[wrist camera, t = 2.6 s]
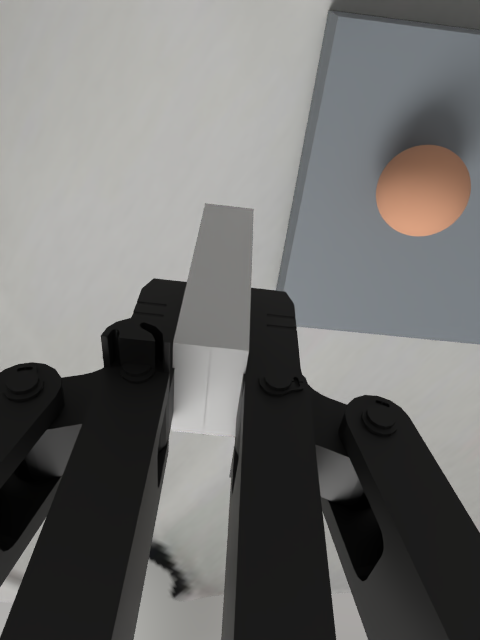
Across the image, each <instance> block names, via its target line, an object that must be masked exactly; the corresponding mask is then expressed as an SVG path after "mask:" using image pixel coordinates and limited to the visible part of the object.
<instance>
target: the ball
mask: <svg viewBox="0 0 480 640" xmlns="http://www.w3.org/2000/svg"><path fill="white" fill-rule="evenodd" d="M470 193H471V179H470V175H469V172H468V169H467V167H466V165H465V164H464V162H463V161H462V160H461V158H460V157H459V156H458V155H456V154H455V153H454V152H452V151H451V150H449V149H447V148H444V147H441V146H437V145H419V146H415V147H412V148H409V149H407V150H404V151H403V152H401V153H399V154H398V155H397V156H395V157H394V158H393V159H392V160H391V161H390V162H389V163H388V164H387V165H386V167H385V168H384V170H383V171H382V173H381V175H380V177H379V180H378V183H377V187H376V202H377V207H378V210H379V212H380V214H381V216H382V218H383V219H384V220H385V222H386V223H387V224H388V225H389V226H390V227H392V228H393V229H394V230H396V231H398V232H400V233H402V234H405V235H409V236H428V235H432V234H436V233H438V232H440V231H442V230H444V229H446V228H448V227H449V226H450V225H452V224H453V223H454V222H455V221H456V220H457V219H458V218H459V217H460V216H461V214H462V213H463V211H464V210H465V208H466V206H467V203H468V201H469V197H470Z"/></svg>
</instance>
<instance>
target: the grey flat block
mask: <svg viewBox="0 0 480 640" xmlns="http://www.w3.org/2000/svg"><path fill="white" fill-rule="evenodd" d="M419 145H437V146H441V147H444V148H447V149H449V150H451V151H452V152H454V153H455V154H456V155H458V156H459V157H460V158H461V160H462V161H463V162H464V164H465V165H466V167H467V169H468V172H469V175H470V179H471V193H470V197H469V201H468V203H467V206H466V208H465V210H464V211H463V213H462V214H461V216H460V217H459V218H458V219H457V220H456V221H455V222H454V223H453V224H452V225H450V226H449V227H448V228H446V229H444V230H442V231H440V232H438V233H436V234H432V235H428V236H409V235H405V234H402V233H400V232H398V231H396V230H394V229H393V228H392V227H390V226H389V225H388V224H387V223H386V222H385V220H384V219H383V218H382V216H381V214H380V212H379V210H378V207H377V202H376V187H377V183H378V180H379V177H380V175H381V173H382V171H383V170H384V168H385V167H386V165H387V164H388V163H389V162H390V161H391V160H392V159H393V158H394V157H395V156H397V155H398V154H399V153H401V152H403V151H404V150H407V149H409V148H412V147H415V146H419ZM276 291H284V292H286V293H287V294H288V296H289V297H290V299H291V300H292V301H293V303H294V306H295V316H296V317H295V319H296V326H297V327H307V328H318V329H328V330H338V331H348V332H358V333H369V334H379V335H389V336H399V337H410V338H420V339H430V340H440V341H450V342H461V343H471V344H480V30H475V29H468V28H460V27H453V26H445V25H437V24H430V23H422V22H415V21H407V20H399V19H392V18H384V17H377V16H369V15H361V14H354V13H346V12H338V11H331V10H329V11H328V17H327V22H326V27H325V33H324V38H323V43H322V49H321V54H320V59H319V65H318V70H317V75H316V81H315V86H314V91H313V97H312V102H311V107H310V112H309V118H308V123H307V128H306V134H305V139H304V144H303V150H302V155H301V160H300V166H299V171H298V176H297V182H296V187H295V192H294V198H293V203H292V208H291V214H290V219H289V224H288V230H287V235H286V240H285V246H284V251H283V256H282V262H281V267H280V272H279V278H278V283H277V288H276Z"/></svg>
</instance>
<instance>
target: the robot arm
mask: <svg viewBox="0 0 480 640" xmlns="http://www.w3.org/2000/svg"><path fill="white" fill-rule="evenodd" d="M253 210H254V209H249V208H241V207H232V206H223V205H215V204H206V203H205V207H204V211H203V216H202V220H201V224H200V229H199V233H198V237H197V242H196V246H195V250H194V255H193V259H192V263H191V267H190V272H189V276H188V280H187V282H181V281H172V280H163V279H153V280H152V281H150V282H149V283H148V284H147V285H146V286H144V287H143V288H142V290H141V293H140V295H139V298H138V301H137V304H136V306H135V309H134V313H133V315H132V317H131V318H129V319H125V320H122V321H118V322H116V323H114V324H112V325H111V326H109V327H107V328H106V330H105V331H104V332H103V334H102V335H101V342H102V351H103V361H104V368H102V369H100V370H98V371H95V372H93V373H88V374H84V375H78V376H71V377H64V378H61V377H60V375H59V374H58V372H57V371H56V370H55V369H54V368H52V367H50V366H48V365H46V364H41V363H33V362H32V363H24V364H18V365H15V366H12V367H10V368H7V369H5V370H3V371H2V372H0V587H1V585H2V583H3V582H4V580H5V579H6V577H7V576H8V574H9V573H10V571H11V570H12V568H13V567H14V565H15V564H16V562H17V561H18V559H19V558H20V556H21V555H22V553H23V552H24V550H25V549H26V547H27V545H28V544H29V542H30V541H31V539H32V538H33V536H34V535H35V533H36V532H37V530H38V529H39V527H40V526H41V524H42V523H43V521H44V520H45V518H46V520H45V522H44V525H43V528H42V530H41V533H40V535H39V538H38V541H37V543H36V546H35V548H34V551H33V554H32V556H31V559H30V561H29V564H28V567H27V569H26V572H25V574H24V577H23V580H22V582H21V585H20V587H19V590H18V593H17V595H16V598H15V600H14V603H13V606H12V608H11V611H10V614H9V616H8V619H7V621H6V624H5V627H4V629H3V632H2V634H1V637H0V640H133V639H134V634H135V628H136V623H137V618H138V612H139V607H140V602H141V596H142V591H143V585H144V580H145V575H146V569H147V564H148V559H149V553H150V548H151V543H152V537H153V532H154V526H155V521H156V516H157V510H158V505H159V500H160V494H161V489H162V484H163V478H164V473H165V467H166V462H167V457H168V446H169V433H170V428H171V431H177V432H187V433H198V434H208V435H218V436H229V437H235V446H234V452H233V458H232V464H231V470H230V477H231V491H230V507H229V523H228V539H227V556H226V572H225V588H224V604H223V620H222V621H223V622H222V637H221V640H336V634H335V625H334V616H333V607H332V598H331V588H330V578H329V569H328V560H327V550H326V541H325V532H324V523H323V514H324V516H325V519H326V522H327V525H328V528H329V530H330V533H331V536H332V539H333V542H334V544H335V547H336V550H337V553H338V556H339V559H340V561H341V564H342V567H343V570H344V573H345V575H346V578H347V581H348V584H349V587H350V589H351V592H352V595H353V597H354V601H355V603H356V606H357V609H358V612H359V615H360V617H361V620H362V623H363V626H364V629H365V632H366V634H367V637H368V640H480V533H479V531H478V529H477V528H476V526H475V524H474V523H473V521H472V519H471V518H470V516H469V515H468V513H467V511H466V510H465V508H464V506H463V505H462V503H461V501H460V500H459V498H458V496H457V495H456V493H455V492H454V490H453V488H452V487H451V485H450V483H449V482H448V480H447V478H446V477H445V475H444V473H443V472H442V470H441V469H440V467H439V465H438V464H437V462H436V460H435V459H434V457H433V455H432V454H431V452H430V450H429V449H428V447H427V445H426V444H425V442H424V441H423V439H422V437H421V436H420V434H419V432H418V431H417V429H416V427H415V426H414V424H413V422H412V421H411V419H410V418H409V416H408V415H407V414H406V413H405V412H404V411H403V409H402V408H401V407H399V406H398V405H396V404H395V403H393V402H392V401H390V400H387V399H385V398H382V397H379V396H371V395H364V396H360V397H356V398H354V399H353V400H352V401H351V402H350V403H349V404H348V405H346V404H343V403H341V402H338V401H335V400H332V399H330V398H327V397H325V396H323V395H321V394H319V393H318V392H316V391H315V390H314V389H312V388H311V387H310V386H309V385H308V383H307V381H306V378H305V377H304V376H303V375H302V373H301V369H300V358H299V348H298V337H297V330H296V328H297V327H296V319H295V317H296V316H295V306H294V303H293V301H292V300H291V299H290V297H289V296H288V294H287V293H286V292H284V291H275V290H266V289H257V288H251V272H252V241H253ZM322 511H323V513H322Z"/></svg>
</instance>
